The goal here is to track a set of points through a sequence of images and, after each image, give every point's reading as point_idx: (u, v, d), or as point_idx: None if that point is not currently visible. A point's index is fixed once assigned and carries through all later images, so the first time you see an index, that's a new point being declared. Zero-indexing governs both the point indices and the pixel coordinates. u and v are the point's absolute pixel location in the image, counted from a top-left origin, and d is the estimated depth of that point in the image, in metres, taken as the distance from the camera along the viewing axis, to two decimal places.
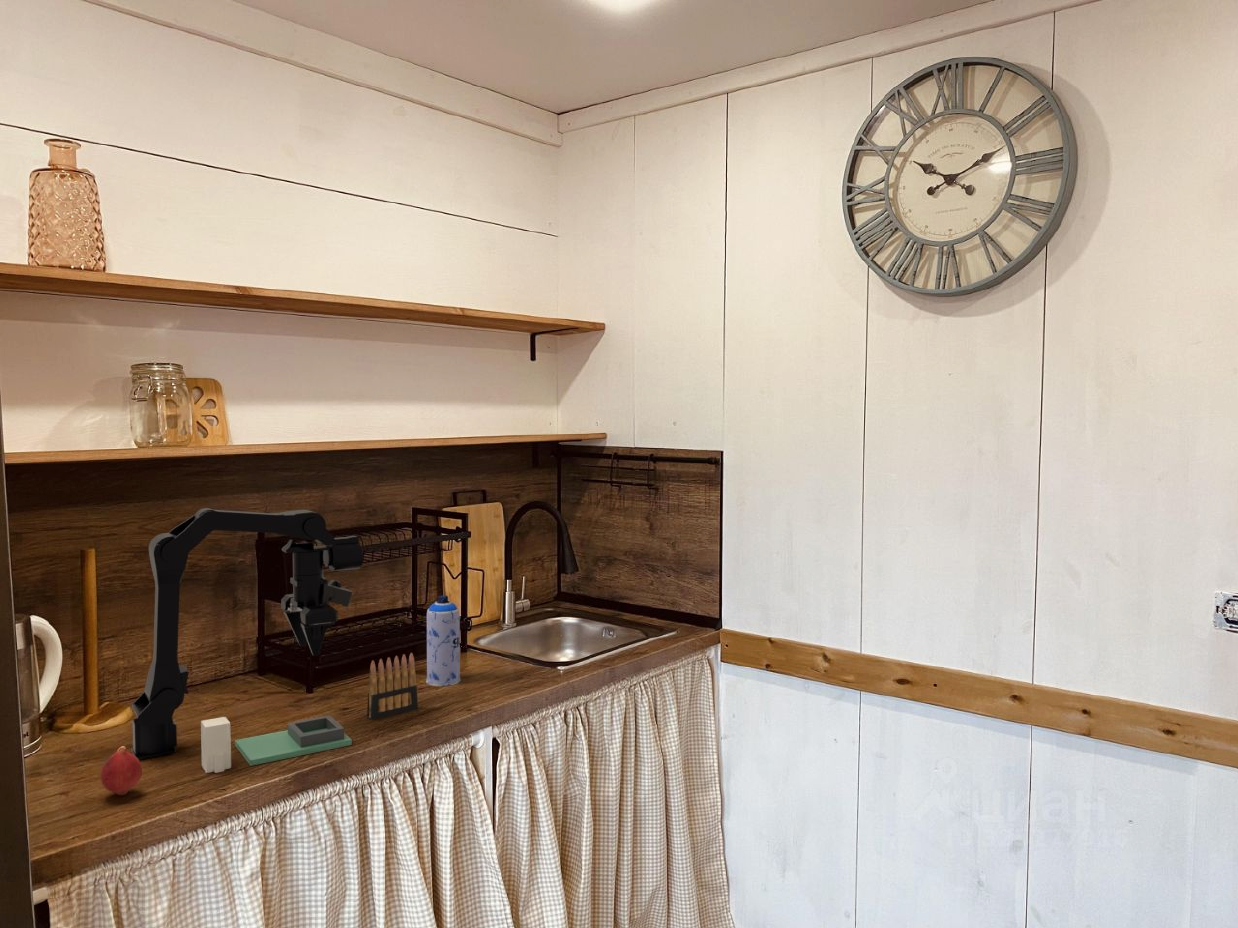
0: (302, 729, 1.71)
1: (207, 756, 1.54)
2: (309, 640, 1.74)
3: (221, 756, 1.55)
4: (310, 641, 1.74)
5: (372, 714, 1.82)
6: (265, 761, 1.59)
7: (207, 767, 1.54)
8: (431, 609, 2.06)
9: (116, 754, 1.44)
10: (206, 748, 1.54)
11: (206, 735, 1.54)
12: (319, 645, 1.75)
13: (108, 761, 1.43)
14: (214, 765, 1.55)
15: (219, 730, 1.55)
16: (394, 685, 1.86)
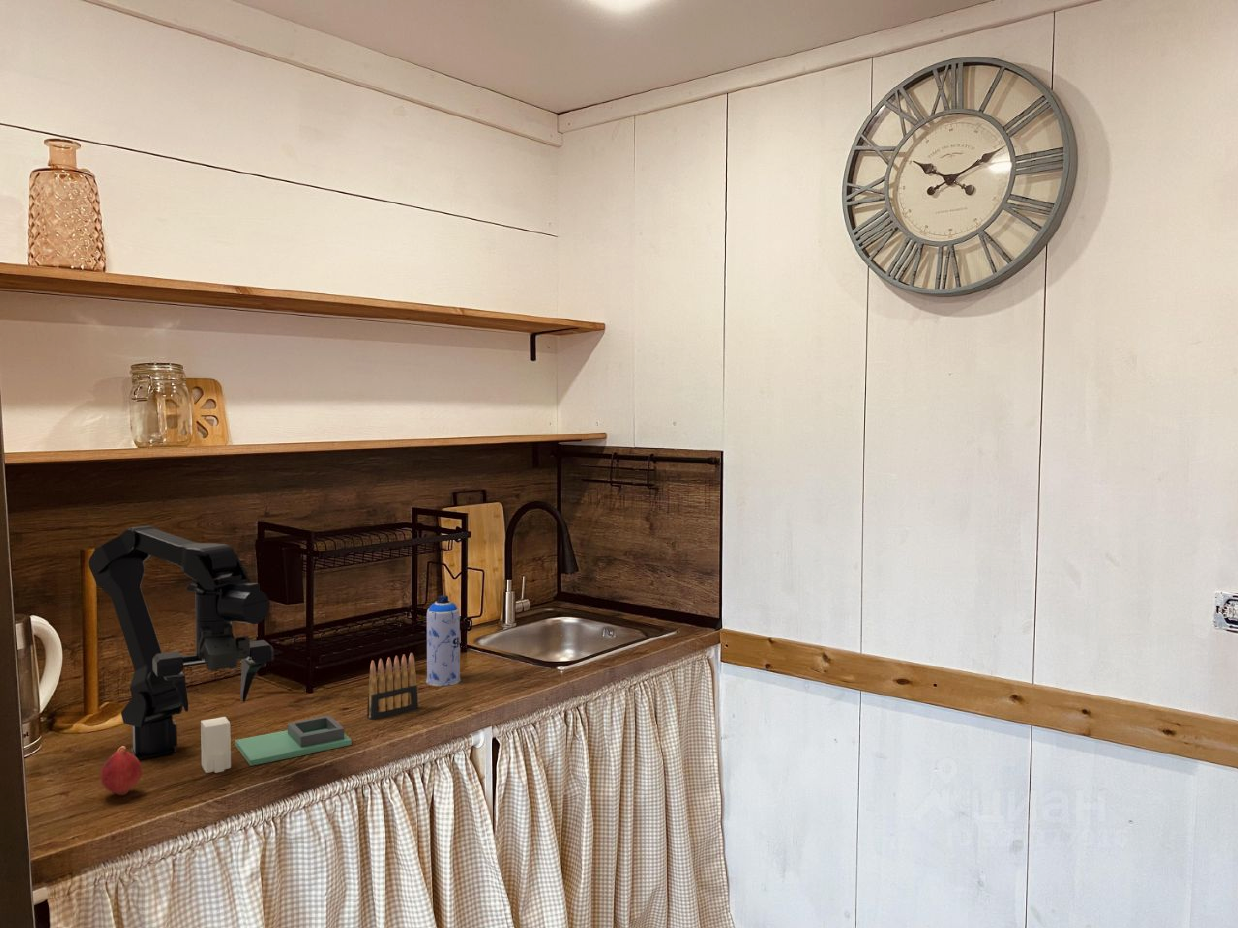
0: (302, 729, 1.71)
1: (207, 756, 1.54)
2: (176, 689, 1.54)
3: (221, 756, 1.55)
4: (177, 691, 1.54)
5: (372, 714, 1.82)
6: (265, 761, 1.59)
7: (207, 767, 1.54)
8: (431, 609, 2.06)
9: (116, 754, 1.44)
10: (206, 748, 1.54)
11: (206, 735, 1.54)
12: (181, 700, 1.53)
13: (108, 761, 1.43)
14: (214, 765, 1.55)
15: (219, 730, 1.55)
16: (394, 685, 1.86)
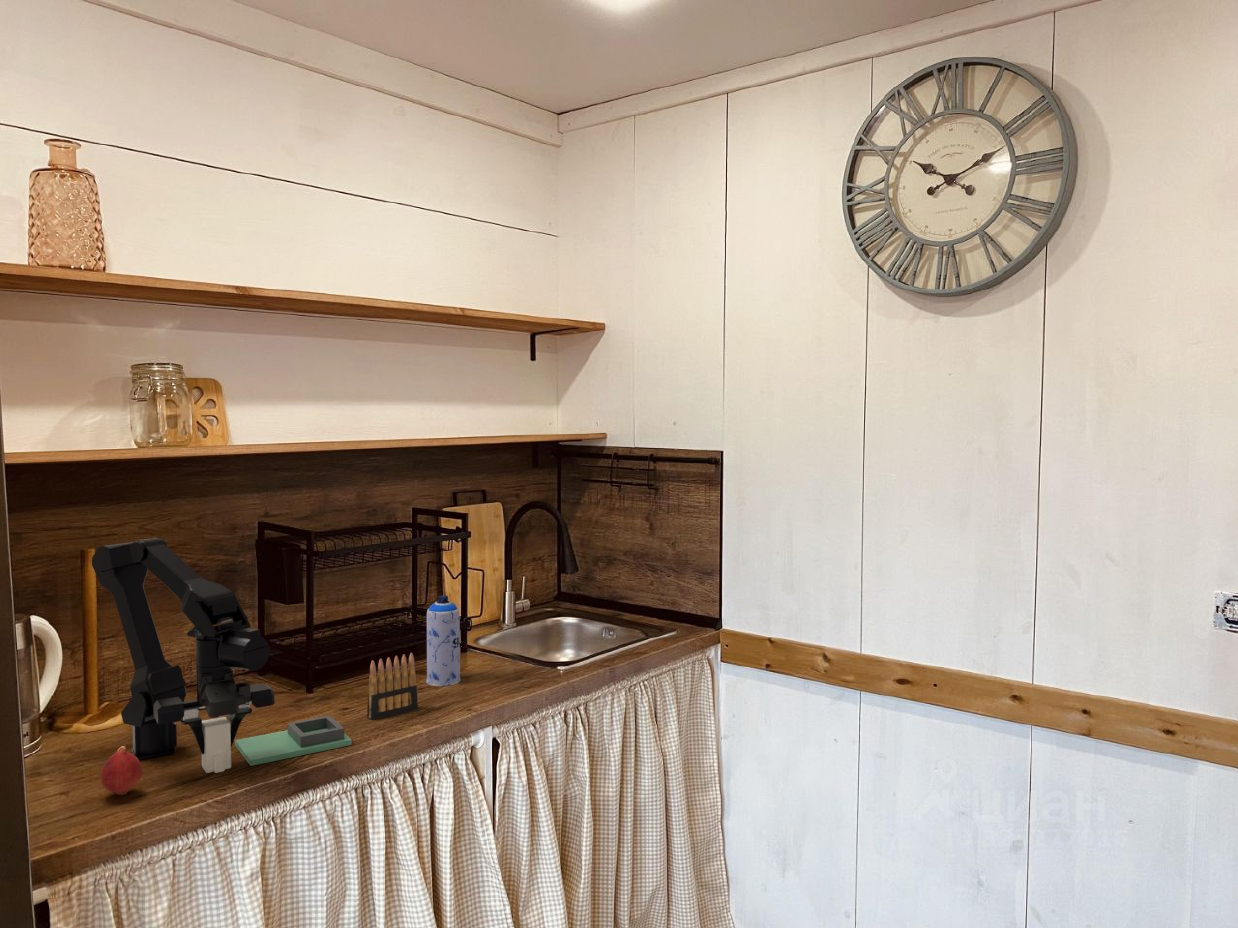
0: (302, 729, 1.71)
1: (207, 756, 1.54)
2: (193, 732, 1.56)
3: (221, 756, 1.55)
4: None
5: (372, 714, 1.82)
6: (265, 761, 1.59)
7: (207, 767, 1.54)
8: (431, 609, 2.06)
9: (116, 754, 1.44)
10: (206, 748, 1.54)
11: (206, 735, 1.54)
12: (197, 743, 1.55)
13: (108, 761, 1.43)
14: (214, 765, 1.55)
15: (219, 729, 1.55)
16: (394, 685, 1.86)
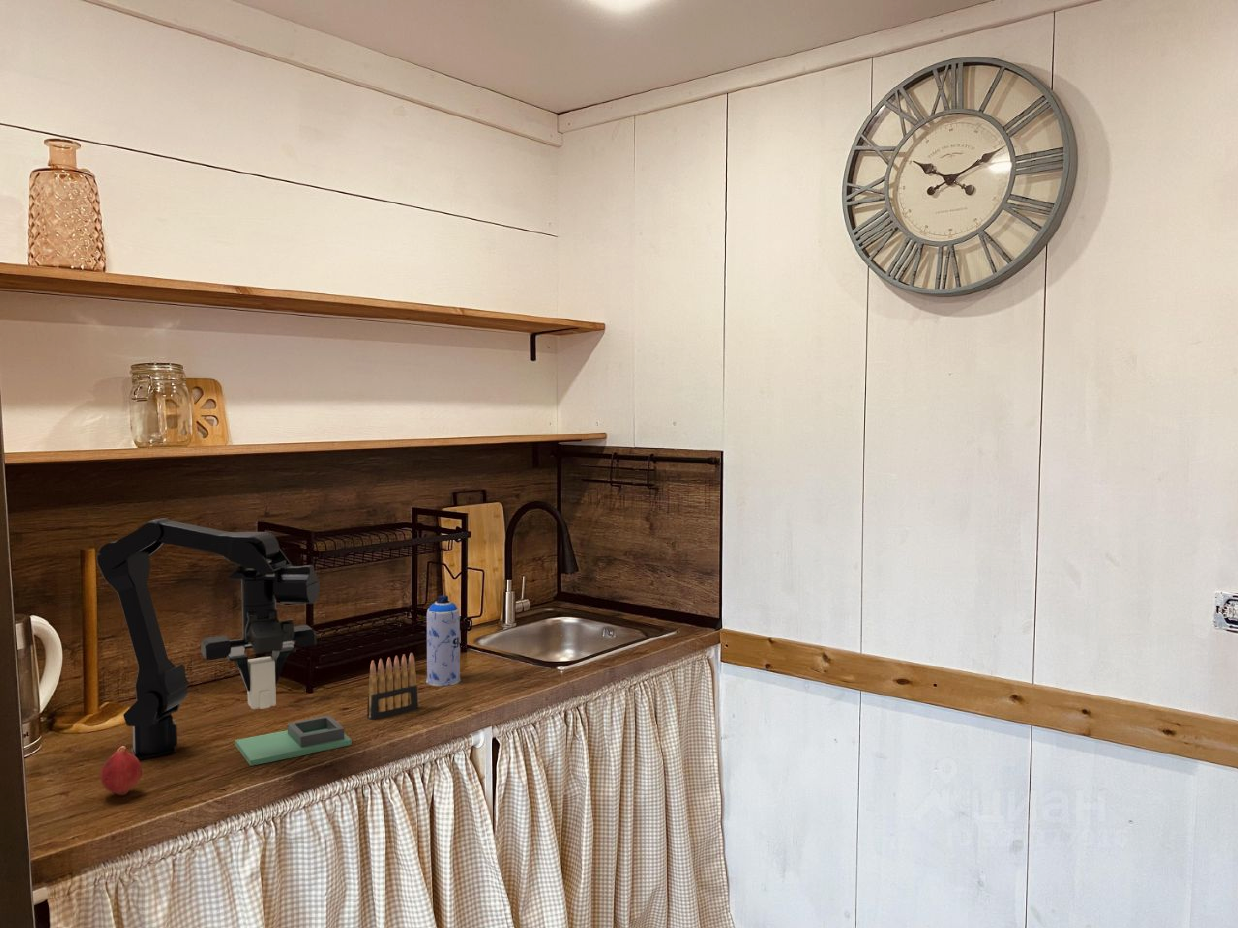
0: (302, 729, 1.71)
1: (253, 693, 1.59)
2: (239, 670, 1.61)
3: (266, 693, 1.60)
4: None
5: (372, 714, 1.82)
6: (265, 761, 1.59)
7: (253, 703, 1.59)
8: (431, 609, 2.06)
9: (116, 754, 1.44)
10: (252, 685, 1.59)
11: (252, 672, 1.59)
12: (244, 680, 1.60)
13: (108, 761, 1.43)
14: (260, 701, 1.59)
15: (264, 667, 1.60)
16: (394, 685, 1.86)
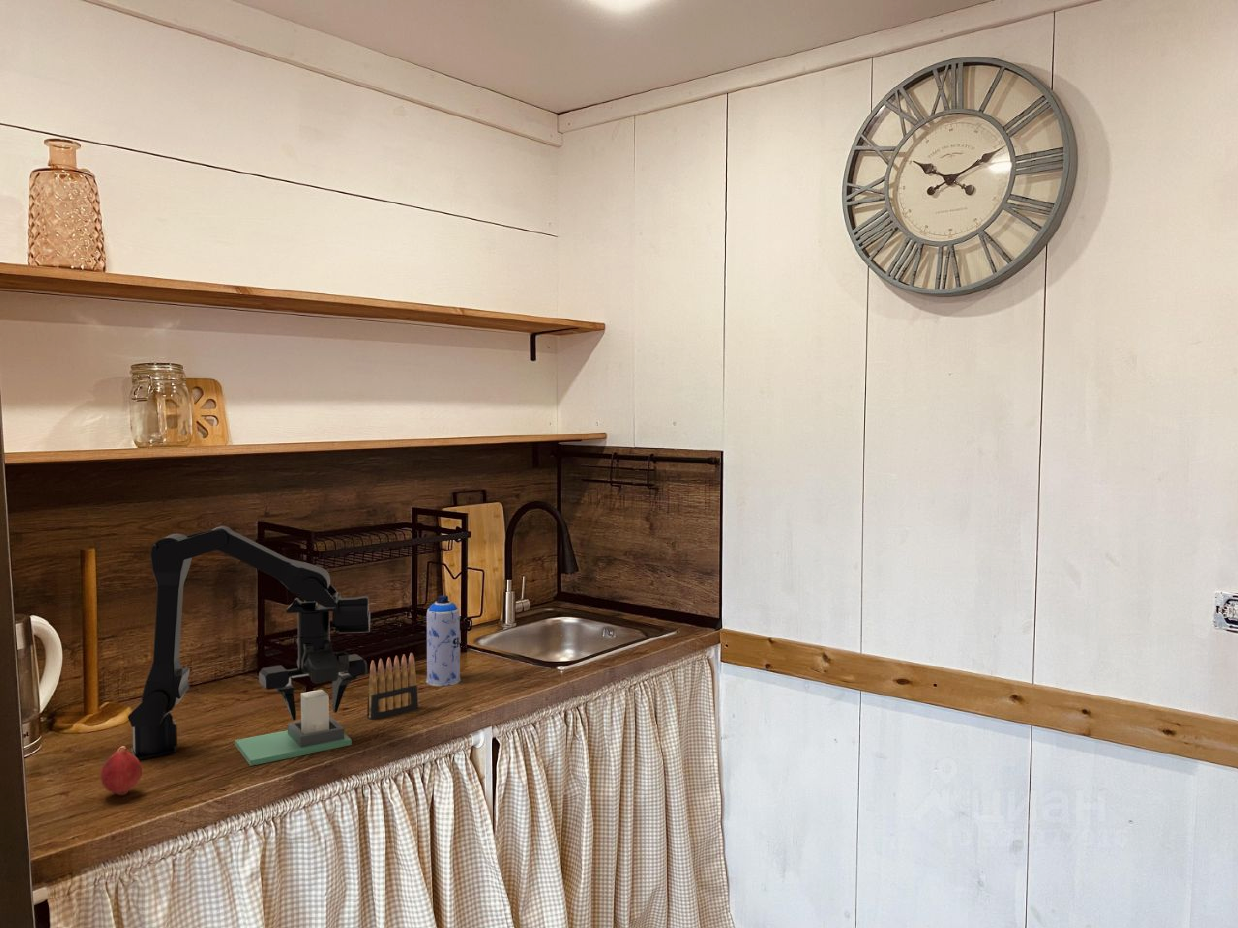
0: None
1: (308, 725, 1.67)
2: None
3: (321, 726, 1.68)
4: (285, 701, 1.68)
5: (372, 714, 1.82)
6: (265, 761, 1.59)
7: None
8: (431, 609, 2.06)
9: (116, 754, 1.44)
10: (307, 718, 1.67)
11: (307, 706, 1.67)
12: (289, 710, 1.66)
13: (108, 761, 1.43)
14: None
15: (319, 701, 1.68)
16: (394, 685, 1.86)
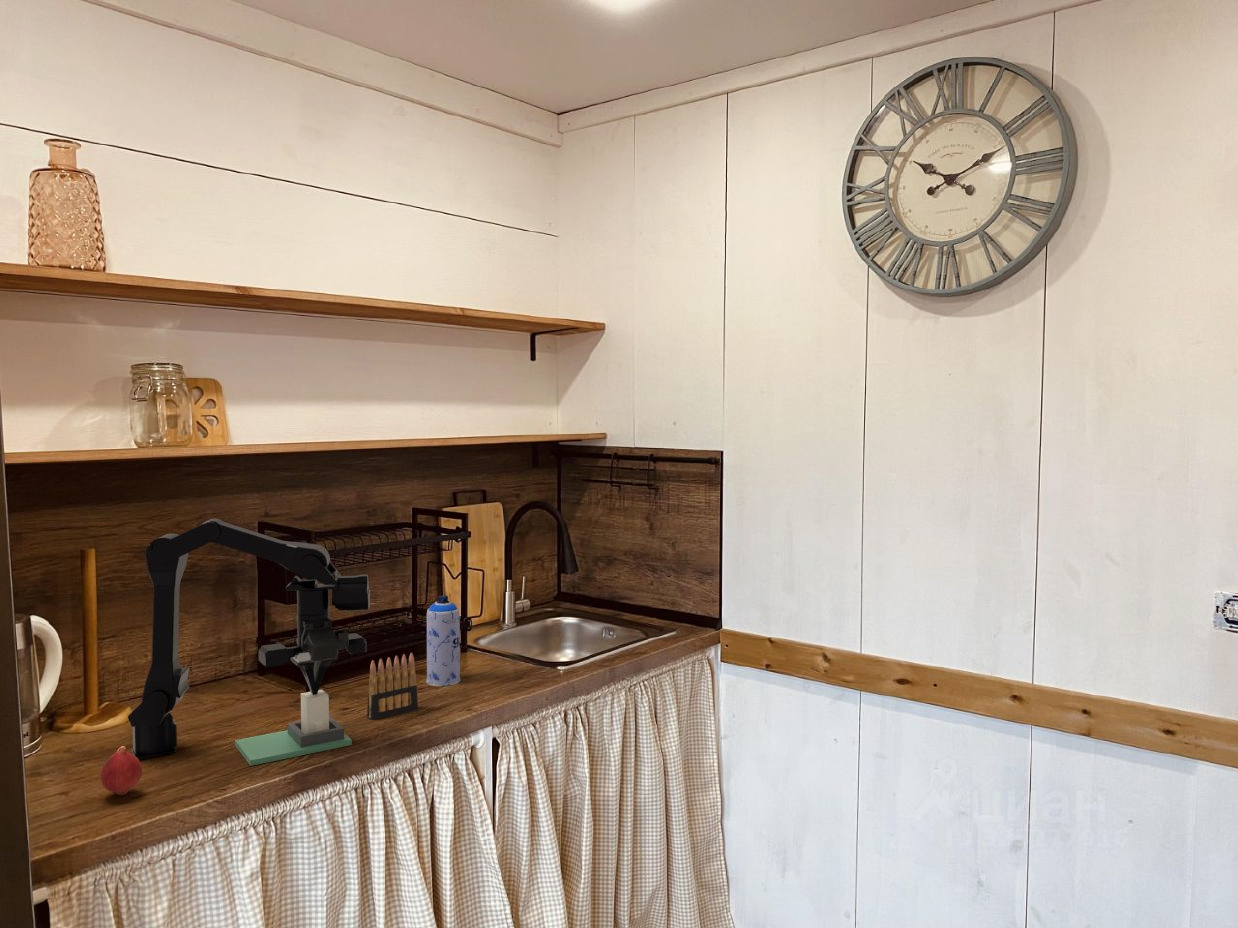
0: None
1: (308, 725, 1.67)
2: (304, 675, 1.70)
3: (321, 726, 1.68)
4: (304, 676, 1.70)
5: (372, 714, 1.82)
6: (265, 761, 1.59)
7: None
8: (431, 609, 2.06)
9: (116, 754, 1.44)
10: (307, 718, 1.67)
11: (307, 706, 1.67)
12: (309, 684, 1.68)
13: (108, 761, 1.43)
14: None
15: (319, 701, 1.68)
16: (394, 685, 1.86)
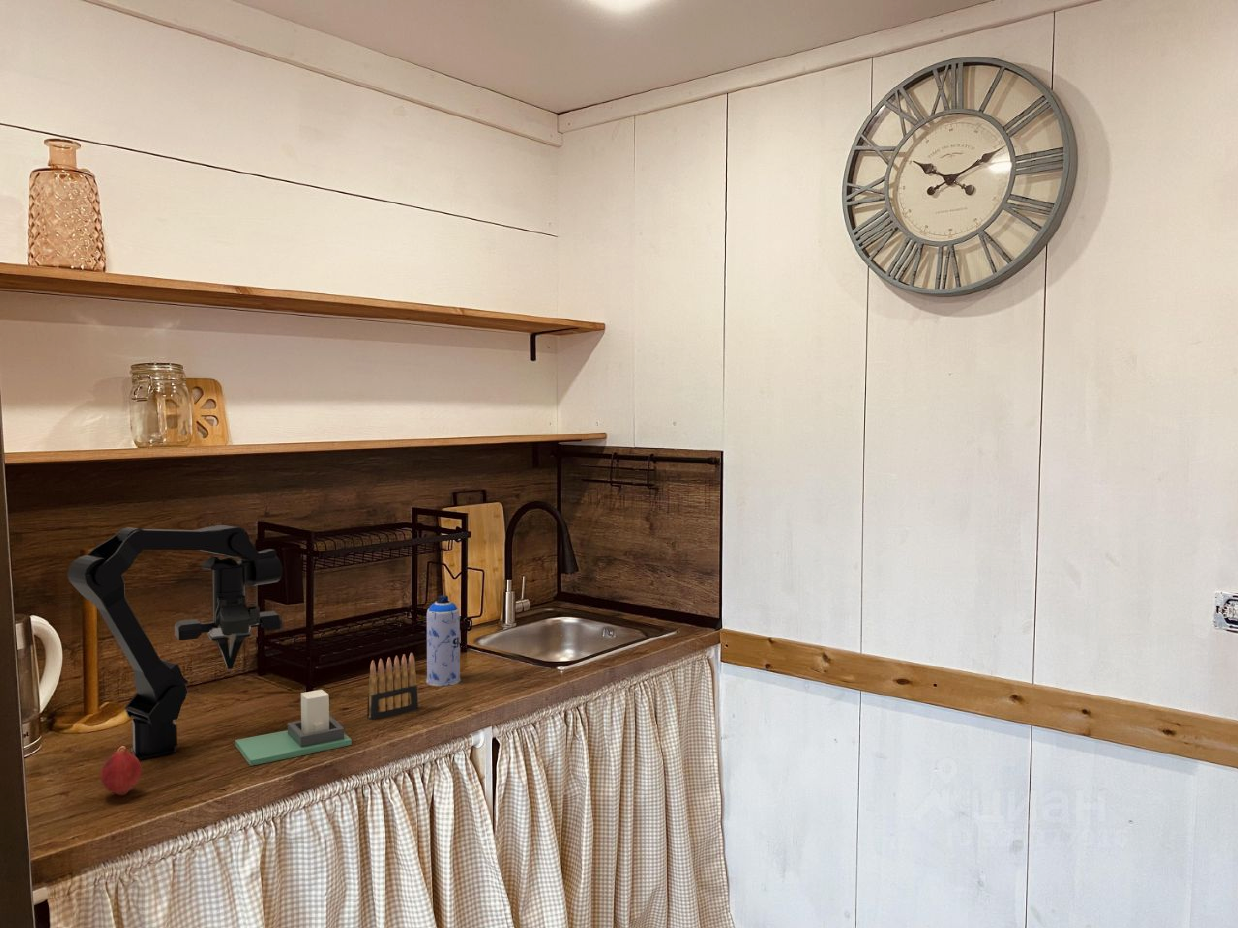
0: None
1: (308, 725, 1.67)
2: (220, 650, 1.76)
3: (321, 726, 1.68)
4: (221, 651, 1.76)
5: (372, 714, 1.82)
6: (265, 761, 1.59)
7: None
8: (431, 609, 2.06)
9: (116, 754, 1.44)
10: (307, 718, 1.67)
11: (307, 706, 1.67)
12: (224, 659, 1.75)
13: (108, 761, 1.43)
14: None
15: (319, 701, 1.68)
16: (394, 685, 1.86)
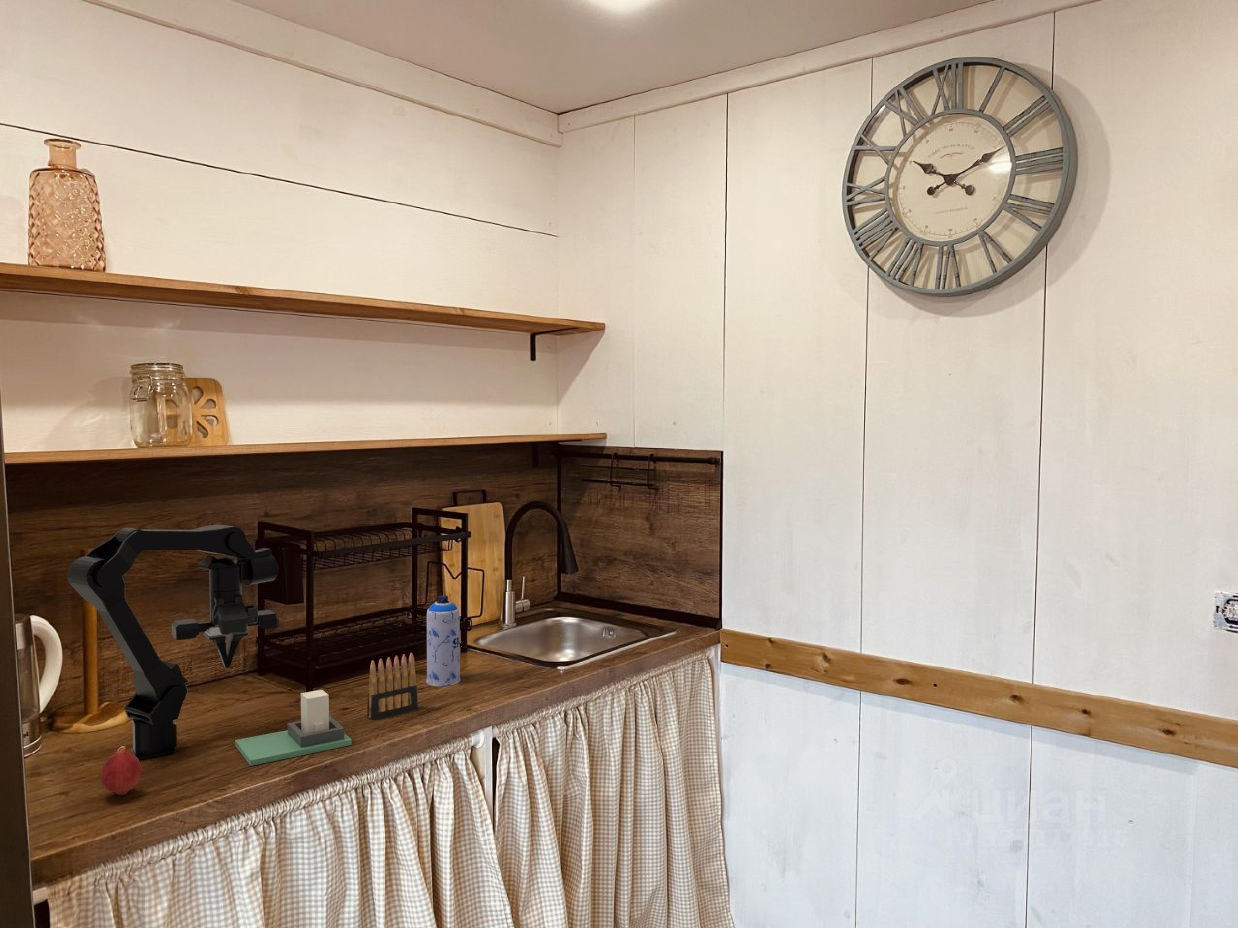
0: None
1: (308, 725, 1.67)
2: (217, 649, 1.77)
3: (321, 726, 1.68)
4: (218, 650, 1.76)
5: (372, 714, 1.82)
6: (265, 761, 1.59)
7: None
8: (431, 609, 2.06)
9: (116, 754, 1.44)
10: (307, 718, 1.67)
11: (307, 706, 1.67)
12: (221, 658, 1.75)
13: (108, 761, 1.43)
14: None
15: (319, 701, 1.68)
16: (394, 685, 1.86)
